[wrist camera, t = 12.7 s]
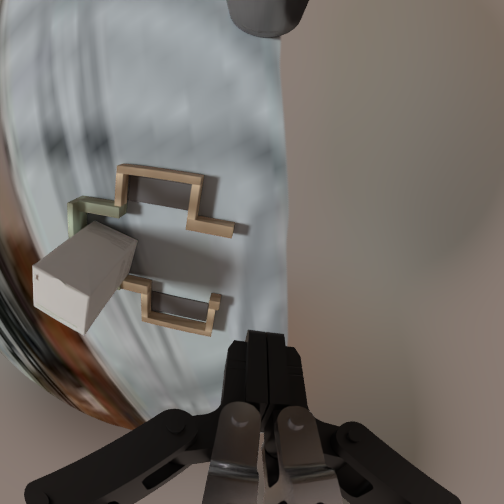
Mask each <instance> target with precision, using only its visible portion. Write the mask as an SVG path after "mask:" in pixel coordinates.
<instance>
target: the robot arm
mask: <svg viewBox="0 0 504 504" xmlns="http://www.w3.org/2000/svg"><path fill="white" fill-rule="evenodd" d="M226 1H227V5H228V9H229V13H230V16H231V19H232V21H233V22H234V24H235V25H236V26H237V27H238V28H239V29H241V30H242V31H244V32H246V33H248V34H251V35H254V36H258V37H276V36H281V35H284V34H286V33H288V32H290V31H291V30H293V29H294V28H295V27H296V26H297V25H298V24H299V22H300V20H301V18H302V15H303V13H304V10H305V8H306V6H307V4H308V1H309V0H226ZM260 432H264V442H263V444H262V447H261V451H262V461H263V472H264V482H265V492H264V498H263V504H343V502H342V497H343V498H344V499H346V500H347V501H348V502H349V503H350V504H461V501H460V500H459V498H458V497H457V496H455V495H454V494H452V493H451V492H449V491H448V490H447V489H445V488H444V487H442V486H441V485H439V484H438V483H437V482H435V481H434V480H433V479H431V478H430V477H428V476H427V475H426V474H424V473H423V472H422V471H420V470H419V469H418V468H416V467H415V466H414V465H412V464H411V463H410V462H408V461H407V460H406V459H405V458H403V457H402V456H401V455H399V454H398V453H397V452H396V451H394V450H393V449H392V448H390V447H389V446H388V445H387V444H386V443H384V442H383V441H382V440H380V439H379V438H378V437H377V436H376V435H375V434H373V433H372V432H371V431H370V430H369V429H367V428H366V427H365V426H364V425H362V424H360V423H358V422H346V423H344V424H342V425H341V426H336V425H332V424H328V423H324V422H322V421H320V420H318V419H316V418H315V417H314V416H313V414H312V413H311V412H310V411H309V409H308V406H307V399H306V392H305V384H304V378H303V371H302V364H301V357H300V355H299V354H298V352H297V351H296V349H295V348H294V347H287V346H285V337H284V334H279V333H270V332H262V331H254V330H248V332H247V336H246V340H245V342H244V341H236V340H234V341H233V343H232V344H231V345H230V347H229V348H228V353H227V359H226V365H225V370H224V379H223V389H222V397H221V405H220V406H219V408H218V409H216V410H215V411H213V412H211V413H209V414H204V415H196V416H192V415H190V414H189V413H187V412H186V411H183V410H180V409H169V410H165V411H163V412H161V413H160V414H158V415H157V416H155V417H154V418H152V419H150V420H149V421H147V422H146V423H144V424H142V425H141V426H139V427H137V428H136V429H134V430H132V431H131V432H129V433H127V434H125V435H124V436H122V437H120V438H119V439H117V440H115V441H114V442H112V443H110V444H108V445H106V446H104V447H102V448H101V449H99V450H97V451H95V452H93V453H91V454H90V455H88V456H86V457H84V458H82V459H80V460H78V461H76V462H74V463H72V464H70V465H68V466H66V467H64V468H61V469H59V470H57V471H55V472H53V473H51V474H48V475H46V476H44V477H42V478H39V479H37V480H35V481H32V482H31V483H29V484H28V485H27V486H26V488H25V492H24V497H25V501H26V504H134V503H136V502H137V501H139V500H141V499H142V498H144V497H145V496H147V495H148V494H150V493H152V492H153V491H155V490H156V489H158V488H159V487H161V486H162V485H164V484H165V483H167V482H168V481H170V480H171V479H173V478H174V477H175V476H177V475H178V474H180V473H181V472H182V471H184V470H185V469H186V468H188V467H189V466H190V465H192V464H197V463H204V462H210V467H209V471H208V476H207V481H206V486H205V491H204V496H203V501H202V504H257V495H258V484H259V474H258V472H257V461H258V451H259V440H260Z"/></svg>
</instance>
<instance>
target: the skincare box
mask: <svg viewBox="0 0 504 504" xmlns="http://www.w3.org/2000/svg"><path fill="white" fill-rule="evenodd" d="M137 242H138V240H136V239H133V238H131V237H129V236H127V235H125V234H123V233H121V232H118V231H116V230H114V229H112V228H110V227H108V226H105V225H103V224H101V223H99V222H97V221H93V222H92V223H90V224H89V225H87V226H86V227H85V228H83V229H82V230H80V231H79V232H78V233H76V234H75V235H73V236H72V237H71V238H69V239H68V240H66V241H65V242H64V243H62V244H61V245H60V246H58V247H57V248H56V249H54V250H53V251H52V252H50V253H49V254H48V255H47V256H45V257H44V258H43V259H41V260H40V261H39V262H37V263H36V264H34V265H33V298H34V306H35V307H36V308H38V309H40V310H41V311H43V312H44V313H46V314H48V315H49V316H51V317H53V318H54V319H56V320H58V321H59V322H61V323H63V324H65V325H66V326H68V327H70V328H72V329H73V330H75V331H77V332H79V333H81V334H82V335H85V334H86V332H87V331H88V330H89V328H90V326H91V325H92V324H93V322H94V321H95V319H96V318H97V316H98V315H99V313H100V312H101V311H102V309H103V308H104V306H105V305H106V303H107V302H108V301H109V299H110V298H111V297H112V295H113V294H114V292H115V291H116V290H117V288H118V287H119V286H120V284H121V283H122V282H123V280H124V279H125V278H126V276H127V275H128V274H129V271H130V268H131V264H132V260H133V256H134V253H135V249H136V245H137Z"/></svg>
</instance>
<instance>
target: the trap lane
mask: <svg viewBox="0 0 504 504" xmlns="http://www.w3.org/2000/svg"><path fill="white" fill-rule="evenodd" d="M129 175H130V181H129ZM133 175H136V176H133ZM140 176H143V177H140ZM147 177H150V178H147ZM154 178H157V179H154ZM161 179H163V180H161ZM167 180H170V181H167ZM203 180H204V175H201V174H195V173H189V172H183V171H176V170H169V169H163V168H155V167H148V166H140V165H132V164H121V165H117V174H116V187H115V201H112V200H106V199H100V198H94V197H87V196H81V197H79V198H76V199H74V200H72V201H70V202H68V203H67V210H68V234H69V238H71V237H72V236H73V235H75V234H76V233H78V232H79V231H80V230H82V229H83V228H85V227H86V226H87V213H92V214H97V215H103V216H108V217H114V218H120V217H121V216H123V215H124V214H126V210H127V194H128V181H129V194H128V200H131V201H137V202H143V203H149V204H154V205H160V206H166V207H172V208H177V209H183V210H188V217H187V224H186V230H191V231H196V232H201V233H206V234H211V235H216V236H222V237H227V238H232V235H233V230H234V225H235V222H230V221H225V220H219V219H214V218H209V217H204V216H198V212H199V205H200V199H201V192H202V186H203ZM174 181H176V182H174ZM180 182H182V183H180ZM186 183H188V184H186ZM151 283H152V280H149V279H145V278H141V277H137V276H132V275H127V276H126V278H125V279H124V280H123V282H122V283H121V284H120V286H119V287H118V288H117V290H120V289H125V290H129V291H133V292H137V293H141V309H142V321H143V322H147V323H151V324H155V325H159V326H164V327H168V328H172V329H176V330H181V331H185V332H190V333H195V334H200V335H205V336H210V337H211V333H212V328H213V322H214V316H215V310H219V305H220V300H221V295H220V294H215V293H211V297H210V301H209V308H208V303H205V302H200V301H195V300H191V299H186V298H181V297H177V296H172V295H168V294H163V293H159V292H155V291H153V292H152V309H153V310H157V311H161V312H166V313H170V314H174V315H179V316H183V317H188V318H193V319H197V320H202V321H206V316H207V322H206V323H204V322H199V321H195V320H190V319H185V318H181V317H176V316H172V315H167V314H163V313H159V312H155V311H151ZM207 309H208V315H207Z"/></svg>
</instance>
